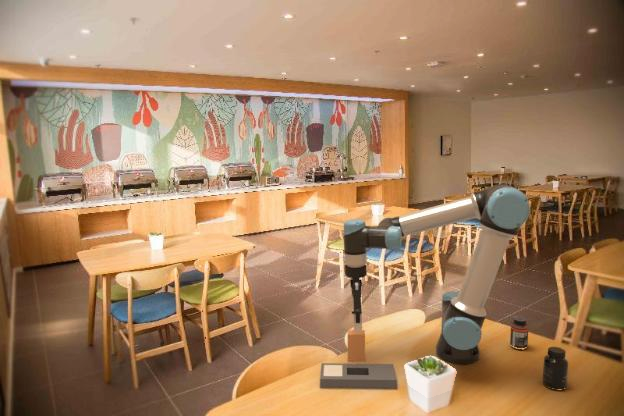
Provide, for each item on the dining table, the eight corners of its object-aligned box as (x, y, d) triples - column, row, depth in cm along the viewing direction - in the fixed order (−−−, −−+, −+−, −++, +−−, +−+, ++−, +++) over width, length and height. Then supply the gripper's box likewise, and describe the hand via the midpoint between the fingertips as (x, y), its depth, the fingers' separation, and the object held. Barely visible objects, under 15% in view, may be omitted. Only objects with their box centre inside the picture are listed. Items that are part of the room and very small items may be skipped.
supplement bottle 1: (511, 342, 170) (513, 314, 168) (528, 346, 167) (530, 317, 165) (508, 348, 165) (509, 319, 164) (525, 352, 162) (527, 323, 160)
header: (393, 375, 149) (393, 363, 148) (396, 391, 139) (397, 379, 138) (321, 374, 150) (321, 362, 150) (320, 390, 140) (320, 378, 140)
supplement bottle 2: (570, 392, 136) (572, 356, 135) (546, 390, 138) (548, 354, 136) (562, 380, 143) (564, 345, 141) (539, 378, 144) (541, 344, 143)
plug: (364, 359, 160) (364, 330, 158) (365, 363, 156) (364, 334, 155) (347, 358, 160) (347, 330, 159) (347, 363, 157) (347, 334, 155)
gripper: (344, 255, 165) (346, 309, 169) (344, 275, 141) (347, 338, 144) (364, 254, 165) (366, 309, 168) (368, 275, 140) (370, 338, 143)
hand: (357, 323), depth 156 cm, fingers open, 13 cm apart
